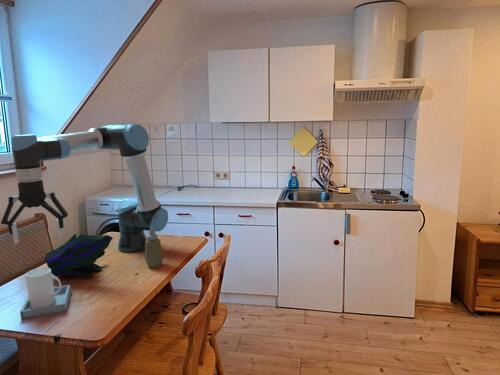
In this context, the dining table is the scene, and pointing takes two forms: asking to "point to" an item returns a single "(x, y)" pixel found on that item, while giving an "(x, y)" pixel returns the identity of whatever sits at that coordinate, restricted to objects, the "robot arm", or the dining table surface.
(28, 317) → the slate tray
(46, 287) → the mug
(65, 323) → the dining table surface
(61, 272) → the decorative plant
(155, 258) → the squeeze bottle
